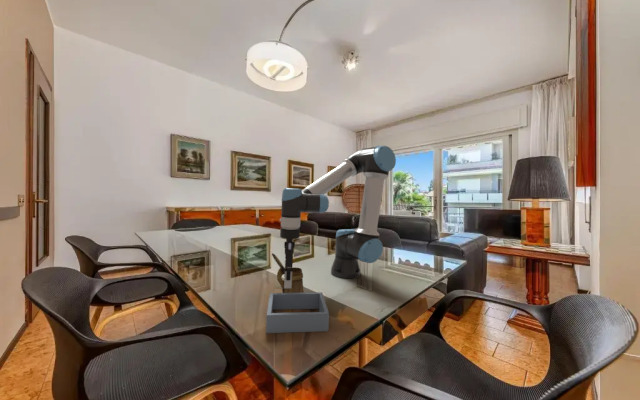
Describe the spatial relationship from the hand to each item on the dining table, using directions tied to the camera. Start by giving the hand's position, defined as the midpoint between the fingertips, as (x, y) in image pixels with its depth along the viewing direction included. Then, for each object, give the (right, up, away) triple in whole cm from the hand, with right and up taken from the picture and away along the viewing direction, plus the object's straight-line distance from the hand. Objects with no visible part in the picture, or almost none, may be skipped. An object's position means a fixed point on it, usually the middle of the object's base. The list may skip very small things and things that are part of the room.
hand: (287, 281), depth 98 cm
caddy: (+5, -8, -15) cm, 18 cm away
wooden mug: (0, -7, +1) cm, 7 cm away
